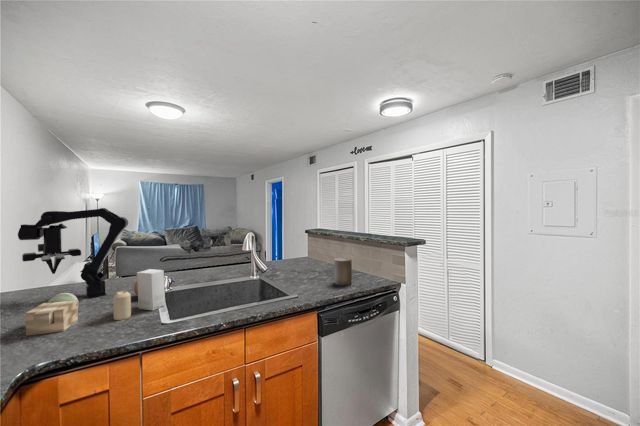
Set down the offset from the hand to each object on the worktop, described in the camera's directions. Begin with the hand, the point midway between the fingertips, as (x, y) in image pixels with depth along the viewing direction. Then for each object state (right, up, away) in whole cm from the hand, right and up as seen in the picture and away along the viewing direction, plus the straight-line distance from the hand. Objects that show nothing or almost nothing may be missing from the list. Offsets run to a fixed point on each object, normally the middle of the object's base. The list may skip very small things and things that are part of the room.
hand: (53, 273), depth 125 cm
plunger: (+25, -12, -26) cm, 39 cm away
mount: (+26, -13, -26) cm, 39 cm away
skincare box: (+49, -13, -8) cm, 51 cm away
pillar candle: (+133, -12, +29) cm, 136 cm away
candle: (+44, -13, -18) cm, 49 cm away
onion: (+39, -12, +5) cm, 41 cm away
